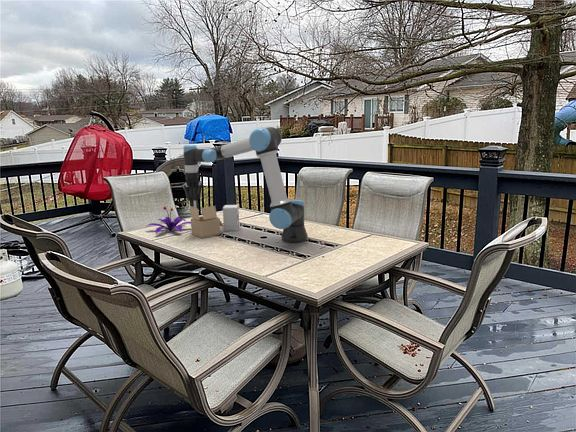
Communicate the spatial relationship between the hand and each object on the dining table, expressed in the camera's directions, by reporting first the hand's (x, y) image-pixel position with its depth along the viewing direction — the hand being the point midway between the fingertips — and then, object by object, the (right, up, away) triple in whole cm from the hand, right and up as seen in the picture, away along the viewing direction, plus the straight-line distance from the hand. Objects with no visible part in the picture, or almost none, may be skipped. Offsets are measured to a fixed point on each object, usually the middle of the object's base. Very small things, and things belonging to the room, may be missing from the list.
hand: (194, 211), depth 251 cm
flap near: (+10, -5, -1) cm, 11 cm away
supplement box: (+20, -11, +17) cm, 28 cm away
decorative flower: (-18, -12, +17) cm, 28 cm away
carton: (+6, -13, +9) cm, 17 cm away
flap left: (+1, -5, -1) cm, 5 cm away
